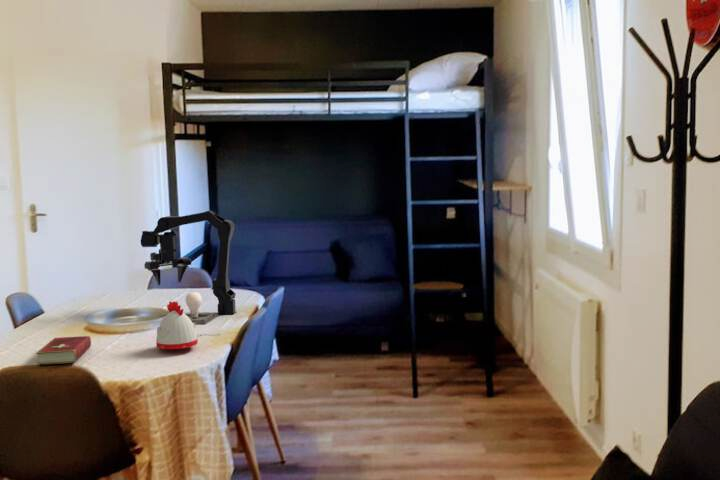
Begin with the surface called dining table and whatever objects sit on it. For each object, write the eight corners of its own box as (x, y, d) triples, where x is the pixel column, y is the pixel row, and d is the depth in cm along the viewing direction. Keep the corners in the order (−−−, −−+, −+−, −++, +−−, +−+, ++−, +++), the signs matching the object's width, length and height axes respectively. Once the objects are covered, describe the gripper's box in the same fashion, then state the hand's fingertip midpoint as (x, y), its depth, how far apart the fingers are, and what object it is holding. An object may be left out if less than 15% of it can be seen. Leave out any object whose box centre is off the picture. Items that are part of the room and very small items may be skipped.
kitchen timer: (181, 337, 263) (179, 296, 262) (205, 342, 255) (203, 300, 253) (148, 345, 253) (146, 302, 251) (172, 351, 244) (170, 306, 243)
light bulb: (185, 321, 289) (183, 293, 288) (187, 317, 296) (186, 290, 295) (202, 320, 290) (200, 292, 289) (204, 316, 296) (202, 290, 295)
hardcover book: (91, 346, 255) (90, 334, 255) (76, 362, 234) (75, 349, 234) (55, 348, 253) (54, 336, 253) (37, 364, 233) (36, 351, 232)
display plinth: (217, 316, 299) (217, 313, 299) (205, 324, 285) (205, 320, 285) (184, 316, 301) (184, 313, 301) (171, 324, 287) (170, 320, 287)
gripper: (178, 243, 316) (180, 279, 318) (137, 247, 304) (139, 284, 305) (191, 245, 308) (192, 281, 309) (149, 249, 296) (151, 287, 297)
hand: (169, 283), depth 306 cm, fingers open, 9 cm apart
